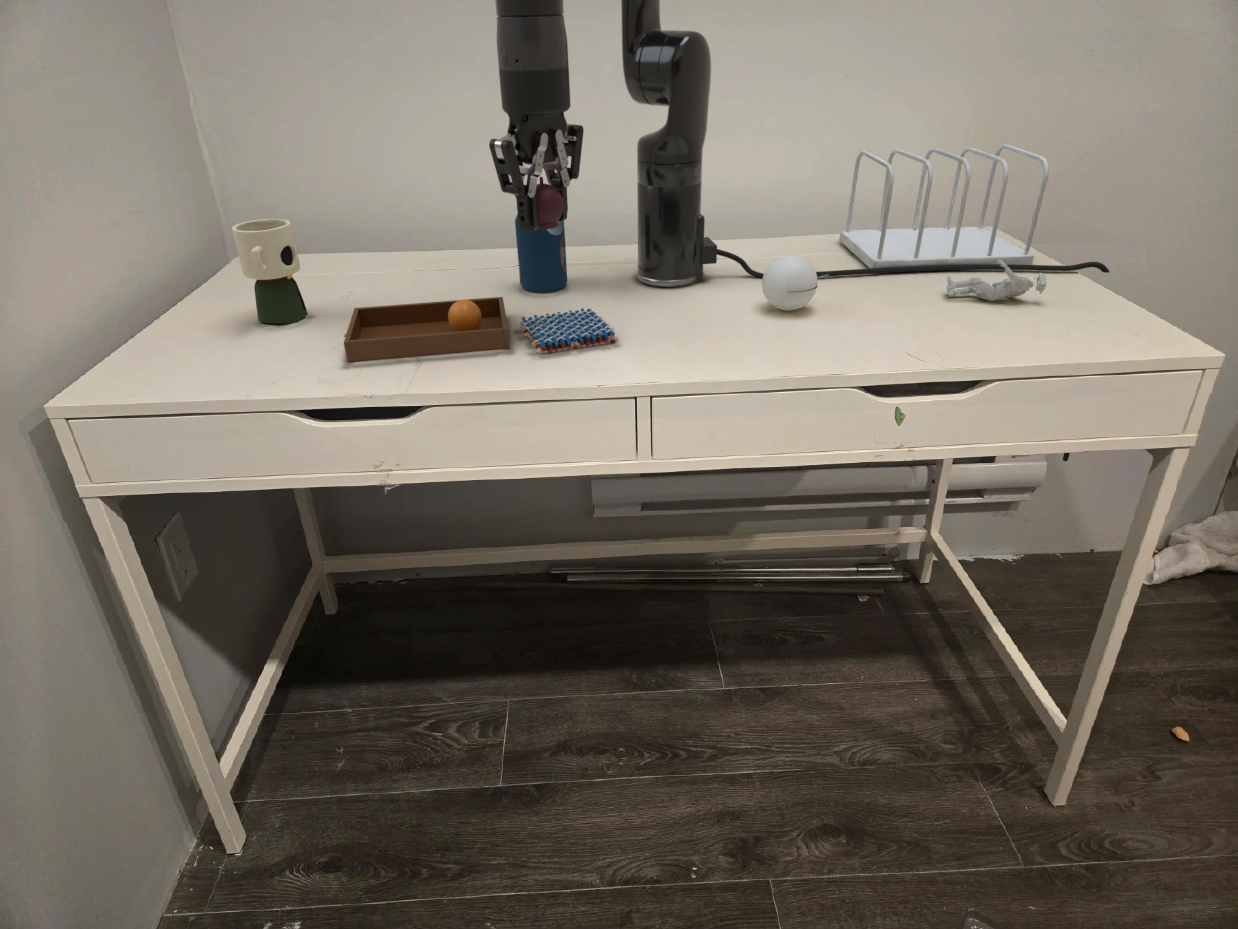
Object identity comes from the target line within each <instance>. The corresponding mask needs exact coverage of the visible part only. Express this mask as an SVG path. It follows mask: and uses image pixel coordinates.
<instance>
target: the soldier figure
mask: <svg viewBox="0 0 1238 929" xmlns="http://www.w3.org/2000/svg"><path fill="white" fill-rule="evenodd" d="M998 263H1001V264H1002V265H999V266H1002V267H1004V268H1005V270H1004V272H1005V273H1006V276H1007V278H1005V279H1003V280H1001V281H997V282H993V283H992V285H991V284H990V283H988V282H987V281H985V280H983V279H982V278H980V277H976V276H972V277H970V278H968V279H964V280H961V281H954V280H952V279H951V276H950V275H948V276H947V278H946V279H947V284H946V292H947V293H948V297H949V298H952V297H954V296H963V295H969V294H973V295H975V296H977V297H979V298H981V299H983V300H986V301H989V302H995V301H999V300H1001V299H1004V298H1006V297H1007V298H1009V299H1011V298H1015V297H1019V296H1023V295H1025V294H1026V292H1028V291H1030V288H1033V287H1034V288H1035V291H1036V292H1037V291H1038V292H1039V294H1040V295H1042V293H1043V292H1044V290H1045V289H1046V286H1047V280H1048V279H1047V277H1046V276H1045V274H1044V273H1043V272H1042V271H1039V274H1038V277H1037V276H1035V277H1034V279H1036V283H1035V281H1032V280H1031V279H1030V278H1028V277H1026V276H1019V275H1018V274H1016V273H1015V272H1014V271H1013V270H1011V269H1010V268H1009V267H1008V266H1007V265H1006V264H1005V263H1004V262H1003V261H1001V260H998ZM1035 284H1036V285H1035Z"/></svg>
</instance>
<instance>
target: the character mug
mask: <svg viewBox="0 0 1238 929" xmlns="http://www.w3.org/2000/svg"><path fill="white" fill-rule="evenodd" d="M231 232H232V236H233V239H234V244H235V247H236V251H237V255H238V259H239V263H240V268H241V270H242V274H243V276H244V277H246V278H247V279H249V280H255V282H254V297H255V307H256V314H257V320H258V321H259V323H263V324H282V325H283V324H286V325H287V324H288V325H289V324H293V323H297V322H300V321H302V320H304V319H306V317H307V316H306V315H308V314H309V313H308V309H307V306H306V304H305V300H304V298H303V296H302V293H301V291H300V288H299V286H298V283H297V281H296V280H295V278H294V277H293V274H296V273H298V272H299V271H300V270H301V264H300V259H299V255H298V251H297V247H296V246H297V245H296V242H295V237H294V232H293V228H292V223H291V221H290V220H288V219H284V218H261V219H253V220H247V221H243V222H240V223H236V224H235V225H233V226H232V228H231Z"/></svg>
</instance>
